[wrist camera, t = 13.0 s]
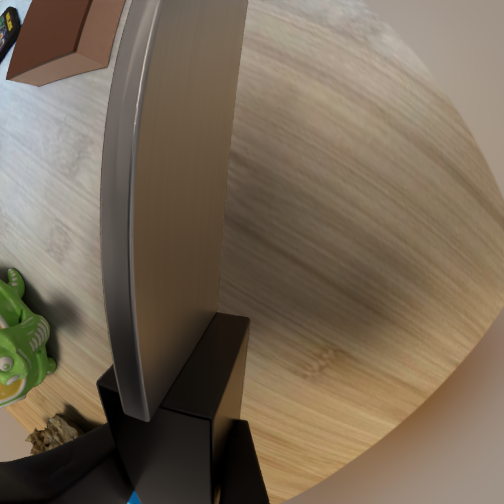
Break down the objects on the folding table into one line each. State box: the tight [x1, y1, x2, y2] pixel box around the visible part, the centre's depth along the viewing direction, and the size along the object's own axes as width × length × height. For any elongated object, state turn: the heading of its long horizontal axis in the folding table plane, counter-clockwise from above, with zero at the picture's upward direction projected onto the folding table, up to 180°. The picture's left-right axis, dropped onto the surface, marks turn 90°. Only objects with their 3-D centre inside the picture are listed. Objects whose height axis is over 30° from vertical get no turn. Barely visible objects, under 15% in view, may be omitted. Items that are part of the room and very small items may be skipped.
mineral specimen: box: [25, 414, 85, 455], centre depth 21 cm, size 14×13×10 cm
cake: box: [6, 0, 125, 87], centre depth 13 cm, size 8×8×4 cm
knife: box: [96, 0, 250, 504], centre depth 6 cm, size 16×2×4 cm, turn 174°
